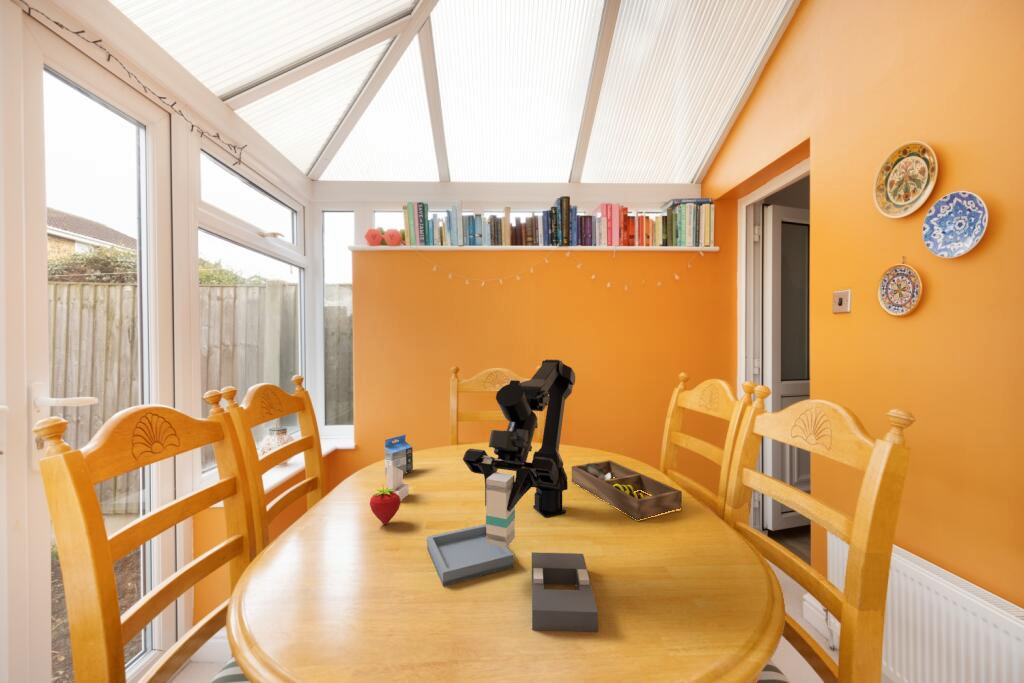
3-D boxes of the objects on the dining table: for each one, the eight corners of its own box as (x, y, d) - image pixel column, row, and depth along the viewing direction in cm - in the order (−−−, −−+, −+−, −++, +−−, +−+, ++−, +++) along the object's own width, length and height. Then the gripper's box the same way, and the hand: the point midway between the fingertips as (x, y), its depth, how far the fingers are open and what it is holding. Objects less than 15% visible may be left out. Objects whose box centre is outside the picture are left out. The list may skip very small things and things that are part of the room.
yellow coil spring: (646, 512, 98) (646, 493, 98) (628, 514, 97) (628, 495, 97) (628, 497, 108) (628, 480, 108) (610, 499, 107) (610, 481, 107)
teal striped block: (495, 533, 74) (495, 471, 74) (515, 537, 72) (514, 474, 72) (486, 544, 70) (485, 479, 70) (506, 548, 68) (506, 482, 68)
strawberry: (393, 531, 88) (393, 488, 88) (364, 528, 90) (364, 486, 90) (405, 519, 94) (405, 479, 94) (377, 517, 96) (377, 477, 96)
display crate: (610, 475, 126) (609, 460, 126) (681, 510, 99) (681, 491, 99) (571, 482, 119) (571, 466, 119) (637, 521, 93) (637, 501, 93)
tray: (488, 534, 87) (488, 523, 87) (513, 567, 74) (513, 554, 74) (427, 548, 81) (427, 536, 81) (443, 586, 68) (443, 572, 68)
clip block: (531, 567, 74) (531, 548, 74) (583, 569, 74) (583, 549, 74) (532, 629, 58) (532, 604, 58) (598, 631, 58) (597, 606, 58)
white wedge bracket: (378, 499, 101) (386, 465, 105) (394, 504, 109) (401, 472, 114) (390, 500, 100) (398, 466, 104) (406, 505, 109) (413, 473, 113)
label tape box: (392, 479, 122) (392, 441, 122) (384, 476, 125) (384, 439, 125) (413, 471, 130) (413, 435, 130) (405, 469, 132) (405, 434, 132)
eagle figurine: (611, 477, 120) (583, 470, 122) (615, 463, 116) (586, 456, 118) (610, 498, 114) (580, 491, 116) (614, 484, 110) (583, 476, 112)
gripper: (466, 409, 78) (436, 481, 68) (554, 416, 71) (534, 497, 61) (484, 438, 85) (459, 507, 75) (565, 447, 78) (549, 524, 68)
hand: (497, 508), depth 70 cm, fingers closed on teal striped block, 4 cm apart
